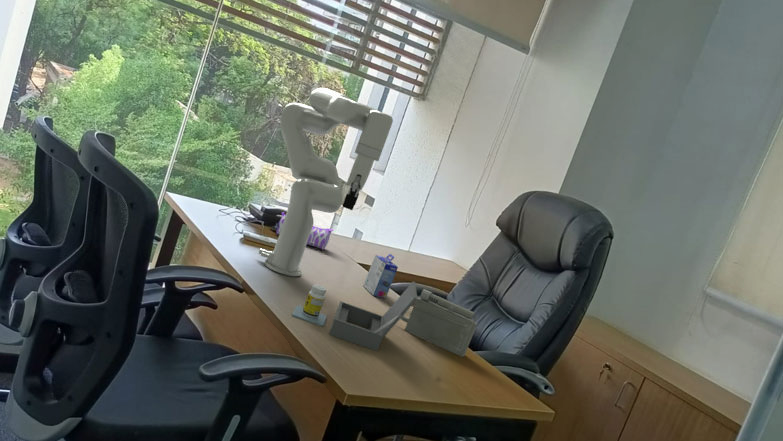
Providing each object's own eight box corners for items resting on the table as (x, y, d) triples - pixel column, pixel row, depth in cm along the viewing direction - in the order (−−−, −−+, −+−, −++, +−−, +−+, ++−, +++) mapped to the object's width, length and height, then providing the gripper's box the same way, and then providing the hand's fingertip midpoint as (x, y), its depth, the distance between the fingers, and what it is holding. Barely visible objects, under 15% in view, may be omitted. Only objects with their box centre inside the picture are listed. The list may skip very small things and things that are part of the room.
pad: (291, 315, 182) (292, 314, 182) (296, 306, 191) (297, 305, 191) (323, 326, 183) (323, 325, 183) (326, 316, 192) (327, 315, 191)
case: (328, 335, 178) (350, 274, 175) (335, 315, 196) (355, 260, 193) (394, 358, 179) (417, 298, 176) (395, 336, 197) (415, 281, 194)
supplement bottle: (302, 309, 189) (312, 282, 188) (318, 314, 190) (328, 287, 188) (301, 314, 184) (311, 286, 183) (317, 320, 185) (327, 292, 184)
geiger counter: (482, 313, 202) (408, 280, 209) (478, 316, 196) (402, 282, 203) (466, 354, 204) (393, 320, 211) (461, 359, 198) (386, 324, 205)
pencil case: (271, 234, 265) (279, 212, 264) (276, 230, 274) (283, 209, 273) (324, 253, 266) (332, 231, 265) (327, 248, 275) (334, 227, 274)
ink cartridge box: (386, 299, 233) (401, 260, 231) (373, 296, 230) (387, 257, 228) (375, 288, 241) (389, 251, 239) (362, 285, 239) (376, 248, 236)
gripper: (358, 146, 206) (339, 198, 209) (354, 149, 189) (333, 205, 192) (380, 155, 207) (362, 206, 209) (379, 158, 190) (358, 214, 192)
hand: (348, 206), depth 201 cm, fingers open, 9 cm apart
